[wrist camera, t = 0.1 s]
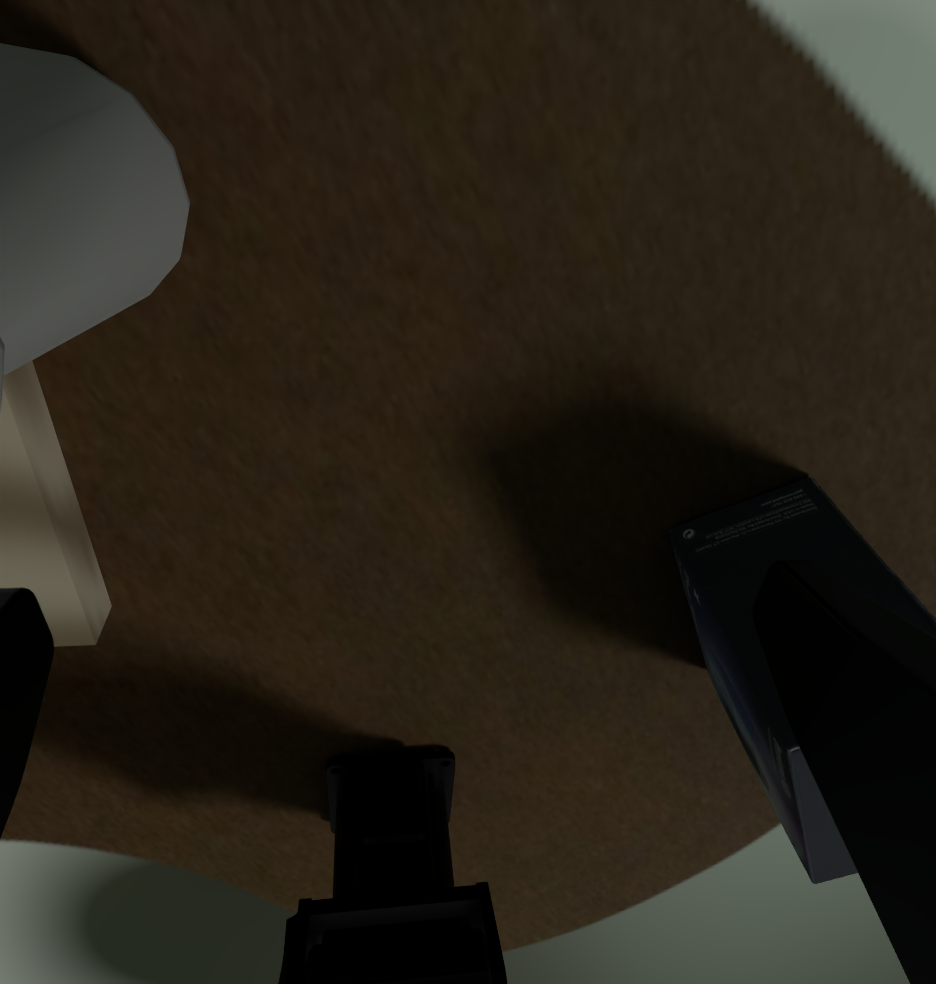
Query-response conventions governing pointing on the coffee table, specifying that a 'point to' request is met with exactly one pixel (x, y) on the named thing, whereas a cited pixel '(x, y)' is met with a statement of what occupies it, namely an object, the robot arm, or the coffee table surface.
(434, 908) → the robot arm
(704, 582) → the small box
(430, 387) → the coffee table surface
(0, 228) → the salt shaker
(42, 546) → the oak block
